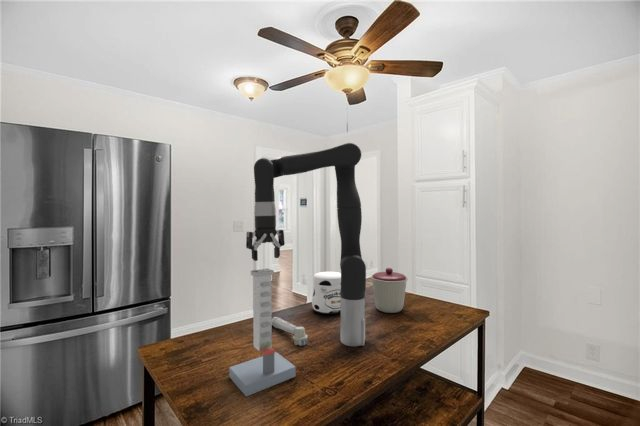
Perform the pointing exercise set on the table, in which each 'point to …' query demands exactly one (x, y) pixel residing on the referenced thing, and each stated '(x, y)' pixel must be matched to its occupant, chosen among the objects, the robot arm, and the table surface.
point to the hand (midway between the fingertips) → (266, 259)
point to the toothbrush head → (291, 330)
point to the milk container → (327, 292)
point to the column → (262, 309)
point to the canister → (389, 290)
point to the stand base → (262, 372)
